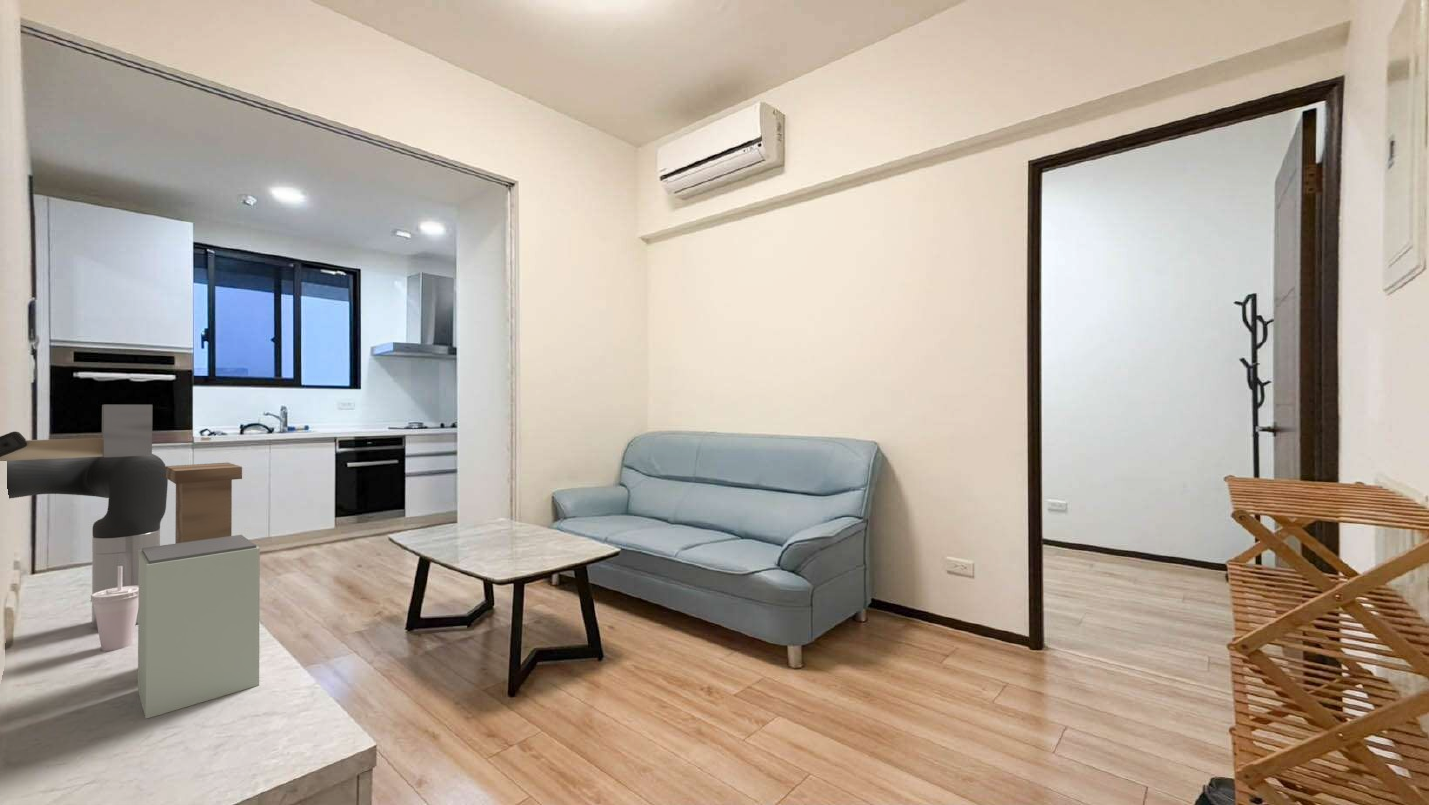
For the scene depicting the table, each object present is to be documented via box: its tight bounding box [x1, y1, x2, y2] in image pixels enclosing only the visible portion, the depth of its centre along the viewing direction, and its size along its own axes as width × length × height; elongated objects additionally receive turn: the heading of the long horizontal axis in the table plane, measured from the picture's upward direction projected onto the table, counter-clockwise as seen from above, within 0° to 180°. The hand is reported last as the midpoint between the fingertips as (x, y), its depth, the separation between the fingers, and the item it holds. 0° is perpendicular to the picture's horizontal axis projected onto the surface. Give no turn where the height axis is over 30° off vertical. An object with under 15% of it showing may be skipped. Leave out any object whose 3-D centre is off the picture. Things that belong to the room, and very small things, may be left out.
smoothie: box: [89, 566, 139, 652], centre depth 98 cm, size 6×6×14 cm
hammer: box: [0, 404, 153, 461], centre depth 73 cm, size 7×17×7 cm, turn 139°
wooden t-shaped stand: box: [165, 462, 243, 544], centre depth 94 cm, size 12×8×32 cm, turn 49°
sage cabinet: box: [137, 534, 261, 719], centre depth 84 cm, size 12×12×21 cm
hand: (22, 438), depth 71 cm, fingers closed on hammer, 2 cm apart
